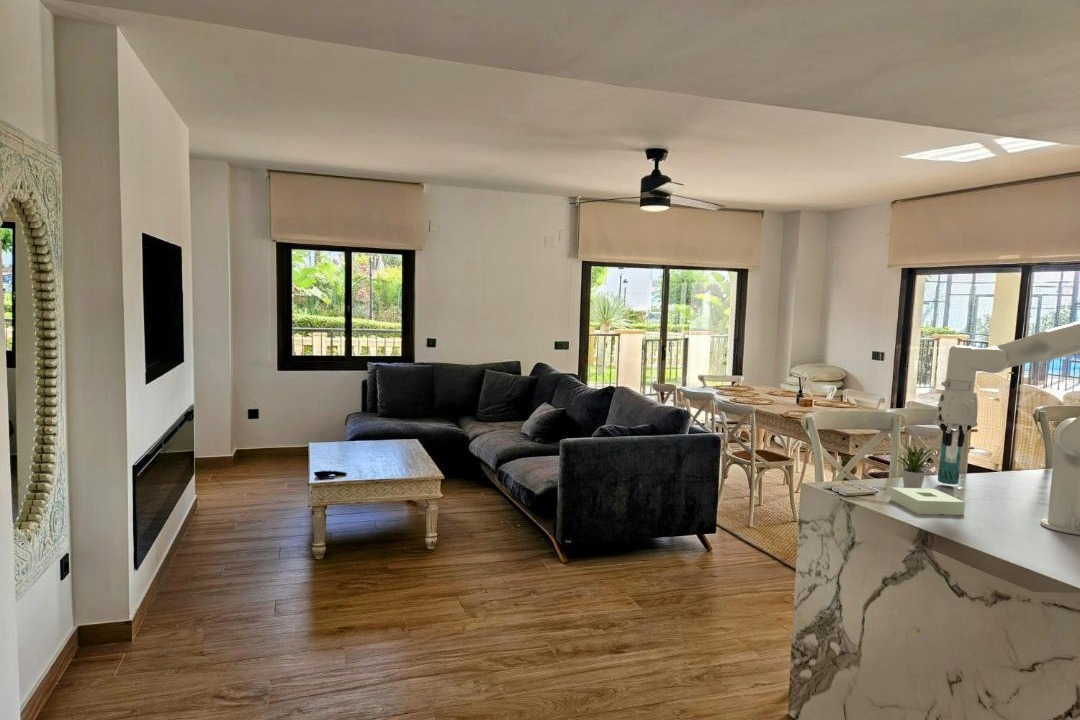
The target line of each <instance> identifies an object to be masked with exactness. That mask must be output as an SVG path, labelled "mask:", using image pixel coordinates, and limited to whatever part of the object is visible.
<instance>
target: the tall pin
mask: <svg viewBox="0 0 1080 720" xmlns="http://www.w3.org/2000/svg"><path fill="white" fill-rule="evenodd" d="M950 433H951V434H952V439H951V446H946V455H945V461H946V462H950V463H956V460H957V452H958V444H959V435H960V430H958V428H957V429H955V428H951V432H950Z"/></svg>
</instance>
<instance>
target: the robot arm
mask: <svg viewBox="0 0 1080 720" xmlns="http://www.w3.org/2000/svg"><path fill="white" fill-rule="evenodd" d="M1076 354H1080V320H1078V321H1075V322H1071V323H1068V324H1064V325H1060V326H1057V327H1053V328H1050V329H1049V328H1048V329H1047V330H1043V331H1039V332H1035V333H1034V334H1031V335H1029V336H1028V335H1027V336H1025V337H1021V338H1019V339H1015V340H1012V341H1007V342H1004V343H1000V344H998V345H993V346H990V347H985V348H984V347H981V348H980V347H979V348H978V347H975V346H970V345H958V344H957V345H952V346H950V348H949V351H948V358H947V366H946V374H945V379H944V381H942V382H941V383H940V384H941V387H942V386H943V387H944V389H943V388H942V390H941V393H940V396H939V400H938V403H937V409H936V416H934V419H933V420H932V423H933V424H935V425H936V426H938V428H939V429H940V431H941V432H942V438H941V442H942V444H943V445H946V446H951V439H952V434H951V433H950V432H951V429H952V426H953V425H957V430H960V435H959V444H958V446H959V447H961V448H963V446H964V443H965V435H967V434H968V432H969V431H970V430H971V429H974V428H975V427H978V425H979V424H978V422H977V420H978V412H979V411H978V407H979V405H978V403H979V402H978V401H979V400H978V395H977V392H976V391H975V383H976V375H977V371H979V372H983V373H987V374H988V373H989V374H997V373H1001V372H1003V371H1005V370H1006V369H1009V368H1013V367H1018V366H1020V365H1024V364H1029V363H1030V364H1031V363H1034V362H1043V361H1044V362H1045V361H1052V360H1057V359H1061V358H1065V357H1069V356H1073V355H1076ZM1053 435H1054V436H1053V454H1052V466H1051V467H1052V468H1051V469H1052V470H1051V477H1050V479H1051V480H1050V488H1049V498H1048V499H1049V501H1048V512H1047V514H1048V515H1047V517H1045V518H1042V519H1040V525H1041V526H1043V527H1044V528H1046V529H1050V530H1053V531H1056V532H1061V533H1065V534H1068V535H1069V534H1070V535H1076V536H1080V415H1078V416H1077V417H1070V418H1065V419H1064V420H1062V421H1060V422H1059V424H1058V425H1057V426H1056V427H1055V430H1054V434H1053Z"/></svg>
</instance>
